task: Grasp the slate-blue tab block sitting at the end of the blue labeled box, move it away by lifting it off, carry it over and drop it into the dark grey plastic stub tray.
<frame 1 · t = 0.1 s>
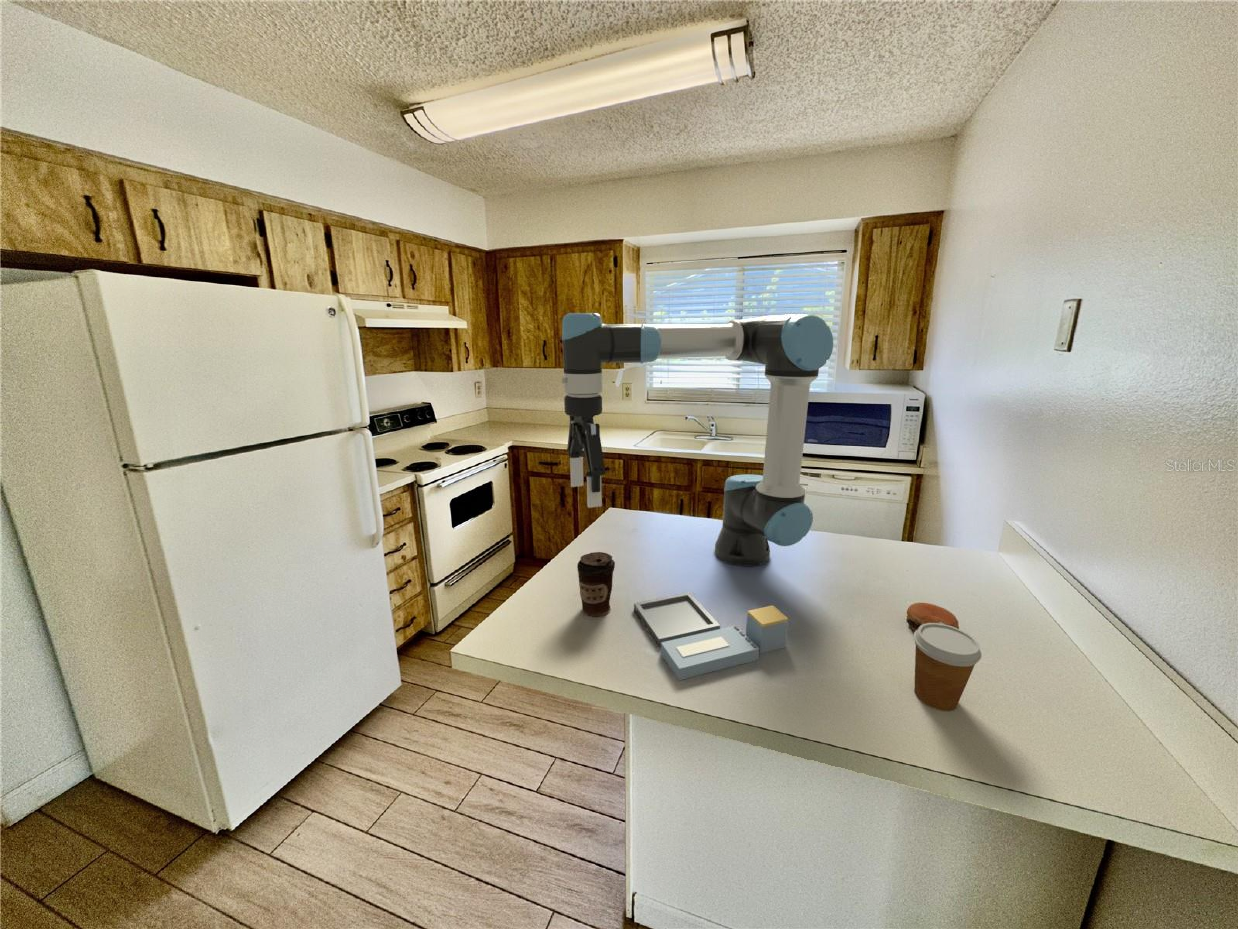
hand: (585, 495, 101), 28 cm above the counter, fingers open, 13 cm apart
disposable coffee cup: (935, 698, 84), on the counter
blue labeled box: (708, 656, 94), on the counter
tray: (675, 620, 106), on the counter
stub: (765, 643, 98), on the counter
coffee cup: (596, 610, 110), on the counter
burger: (930, 630, 103), on the counter
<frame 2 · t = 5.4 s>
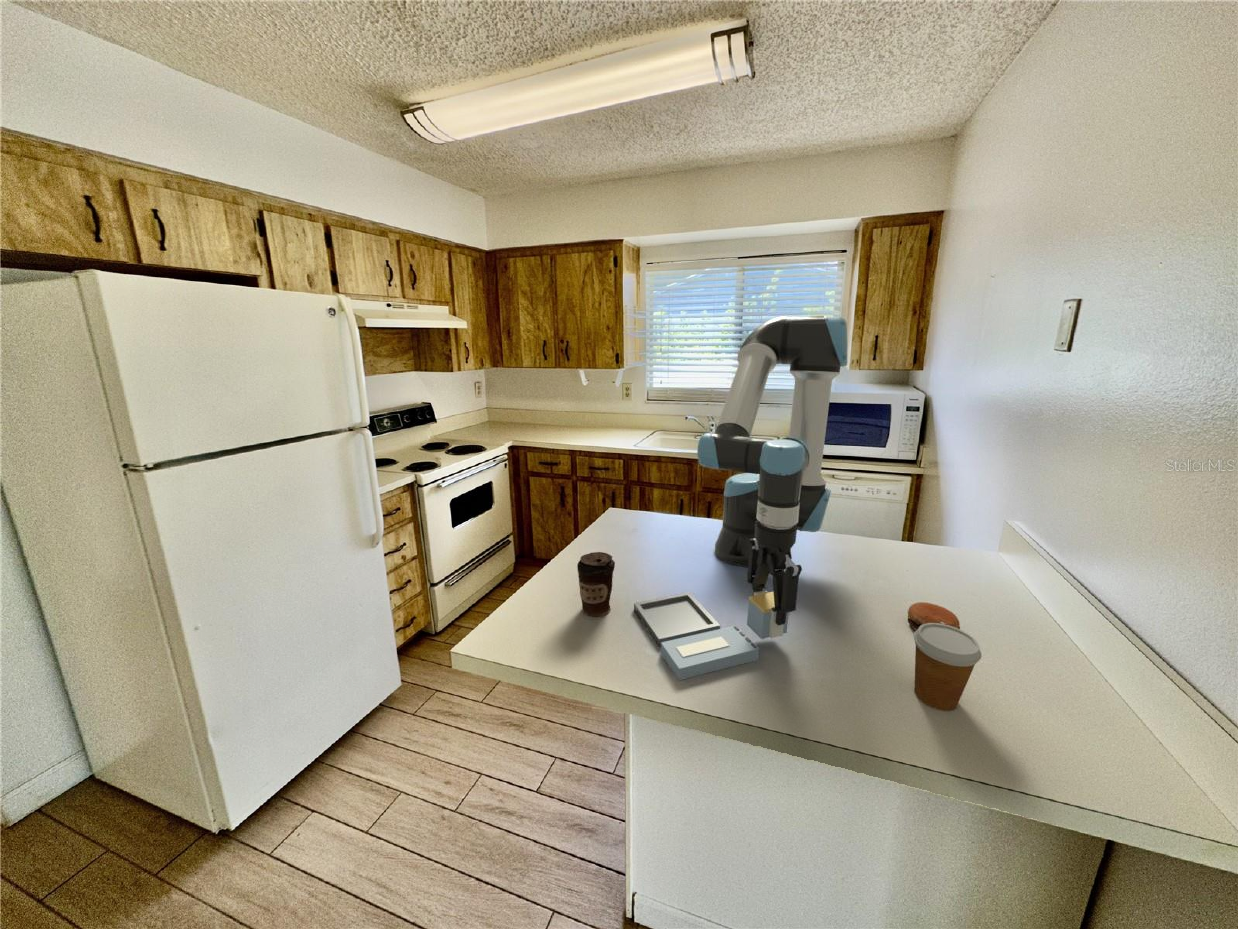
hand: (766, 627, 98), 3 cm above the counter, fingers closed on stub, 5 cm apart
stub: (766, 628, 98), point 3 cm above the counter, touching gripper
everything else where it was.
when the fingers open (1 cm above the counter, at t = 9.8 s): stub stays where it is, resting on tray.
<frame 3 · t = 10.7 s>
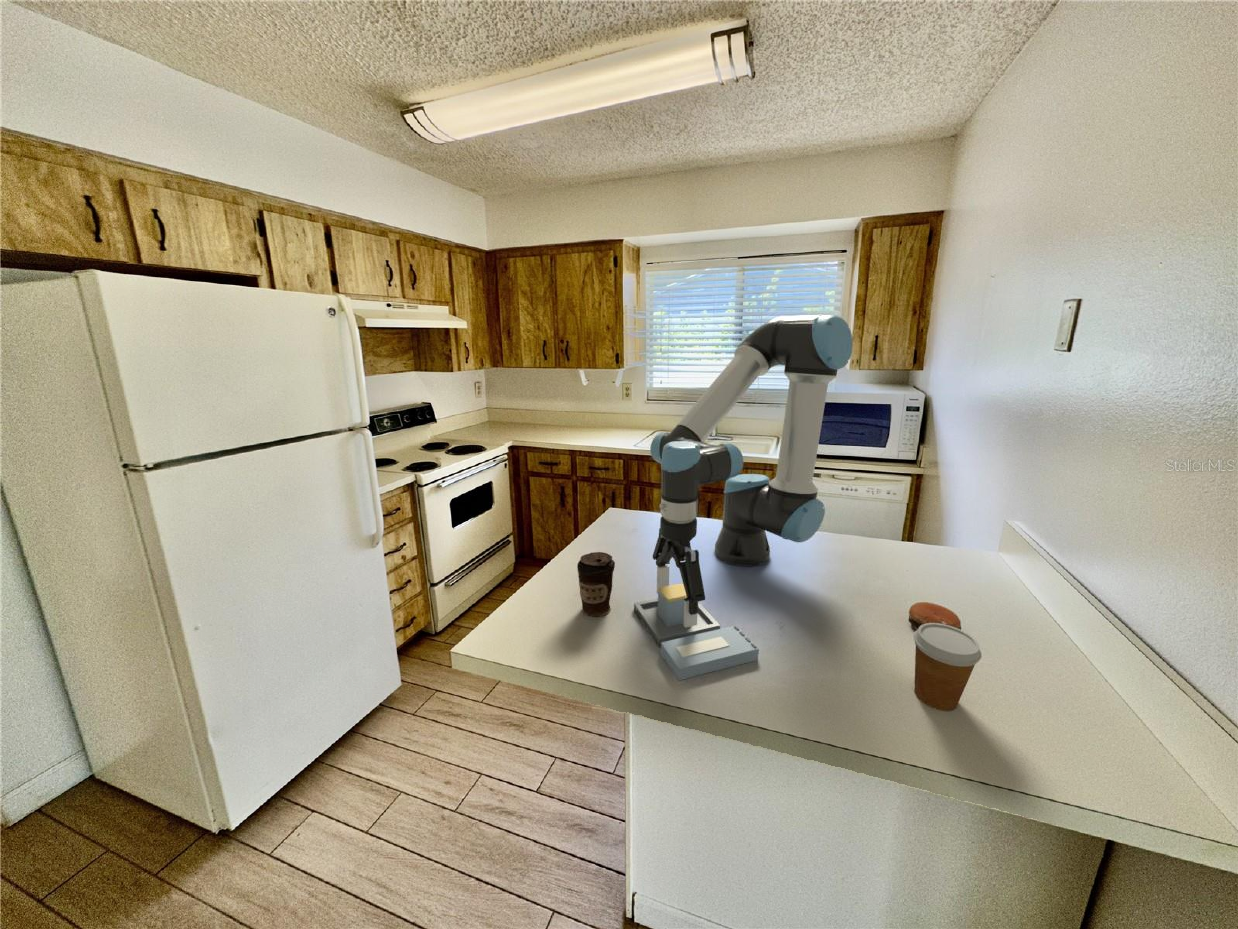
hand: (675, 608, 105), 3 cm above the counter, fingers open, 13 cm apart
stub: (674, 617, 105), point 1 cm above the counter, touching tray
everything else where it was.
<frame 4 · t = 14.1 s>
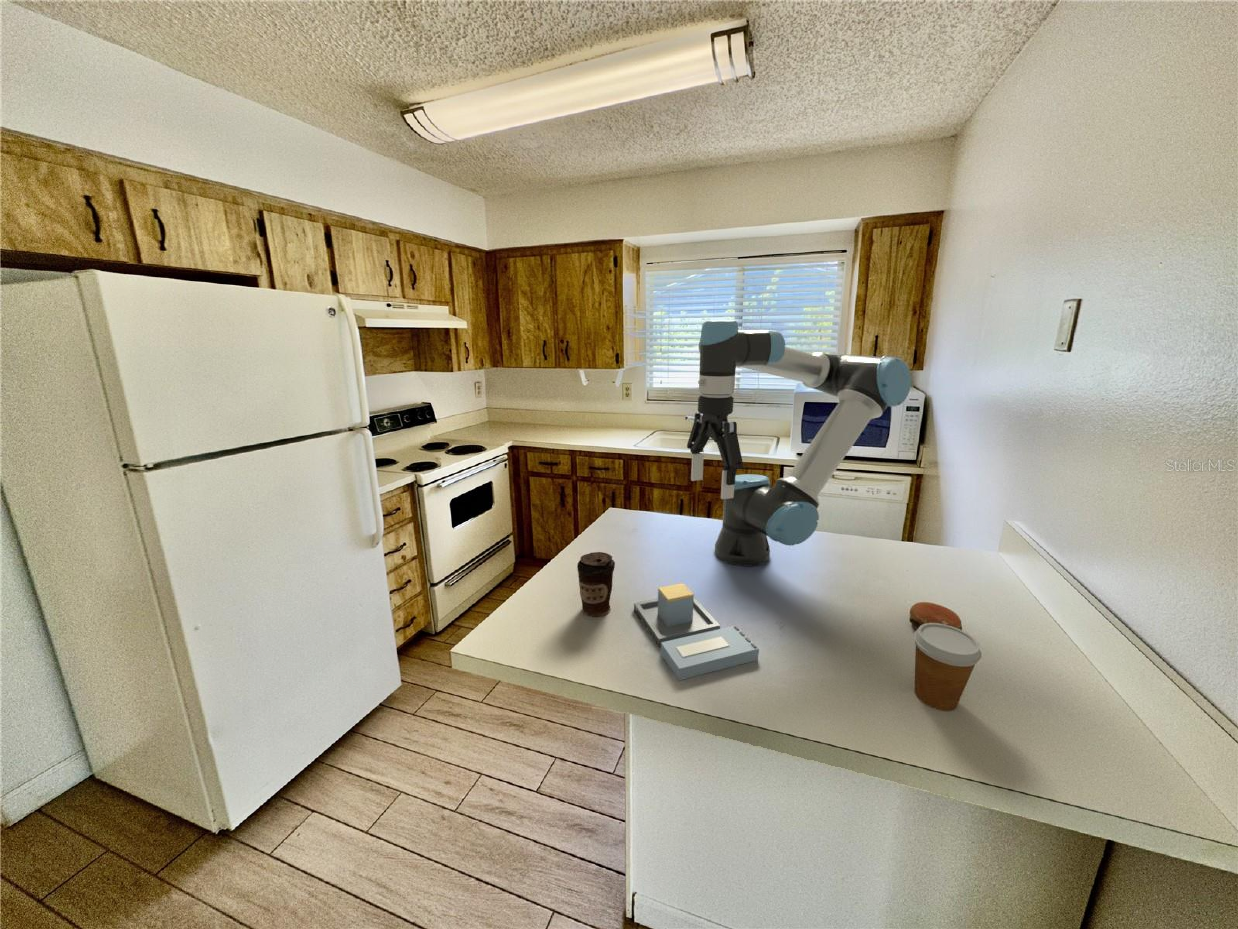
hand: (711, 488, 109), 27 cm above the counter, fingers open, 13 cm apart
nothing on the counter moved.
at the end: stub inside the target area on the tray (0.1 cm from its centre), point 0.8 cm above the tray's base; stub touching tray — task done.
